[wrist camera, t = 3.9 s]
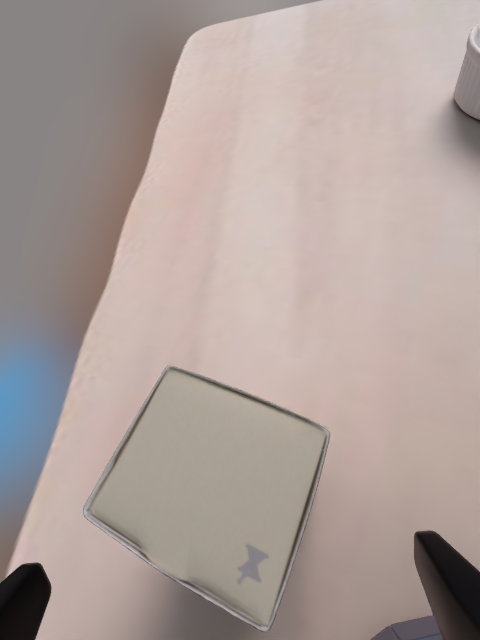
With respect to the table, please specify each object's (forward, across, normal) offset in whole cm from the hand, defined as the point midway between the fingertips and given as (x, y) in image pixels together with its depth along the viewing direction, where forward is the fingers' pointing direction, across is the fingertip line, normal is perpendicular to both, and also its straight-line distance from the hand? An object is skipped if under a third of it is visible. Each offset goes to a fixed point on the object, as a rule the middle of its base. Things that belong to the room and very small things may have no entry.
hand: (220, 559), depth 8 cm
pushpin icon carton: (+8, 0, +5) cm, 9 cm away
